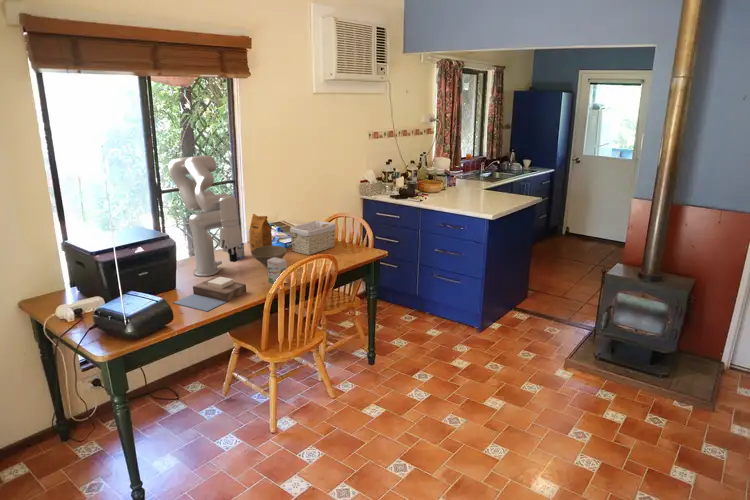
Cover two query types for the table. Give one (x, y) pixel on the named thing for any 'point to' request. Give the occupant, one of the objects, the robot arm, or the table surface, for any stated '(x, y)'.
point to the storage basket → (312, 237)
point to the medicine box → (240, 252)
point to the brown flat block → (219, 291)
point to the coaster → (220, 282)
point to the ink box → (275, 268)
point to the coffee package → (260, 232)
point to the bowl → (268, 253)
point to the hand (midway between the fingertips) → (233, 261)
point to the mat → (200, 302)
